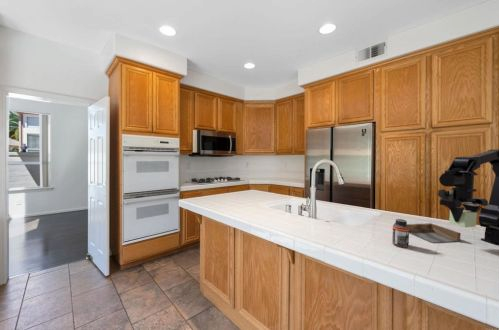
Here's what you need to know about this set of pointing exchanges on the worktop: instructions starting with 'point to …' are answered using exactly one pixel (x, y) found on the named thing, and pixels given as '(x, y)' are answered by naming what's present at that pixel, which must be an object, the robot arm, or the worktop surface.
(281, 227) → the worktop surface
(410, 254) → the worktop surface
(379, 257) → the worktop surface
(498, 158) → the robot arm
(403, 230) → the supplement bottle
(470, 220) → the cube
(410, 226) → the corner arena
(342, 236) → the worktop surface
